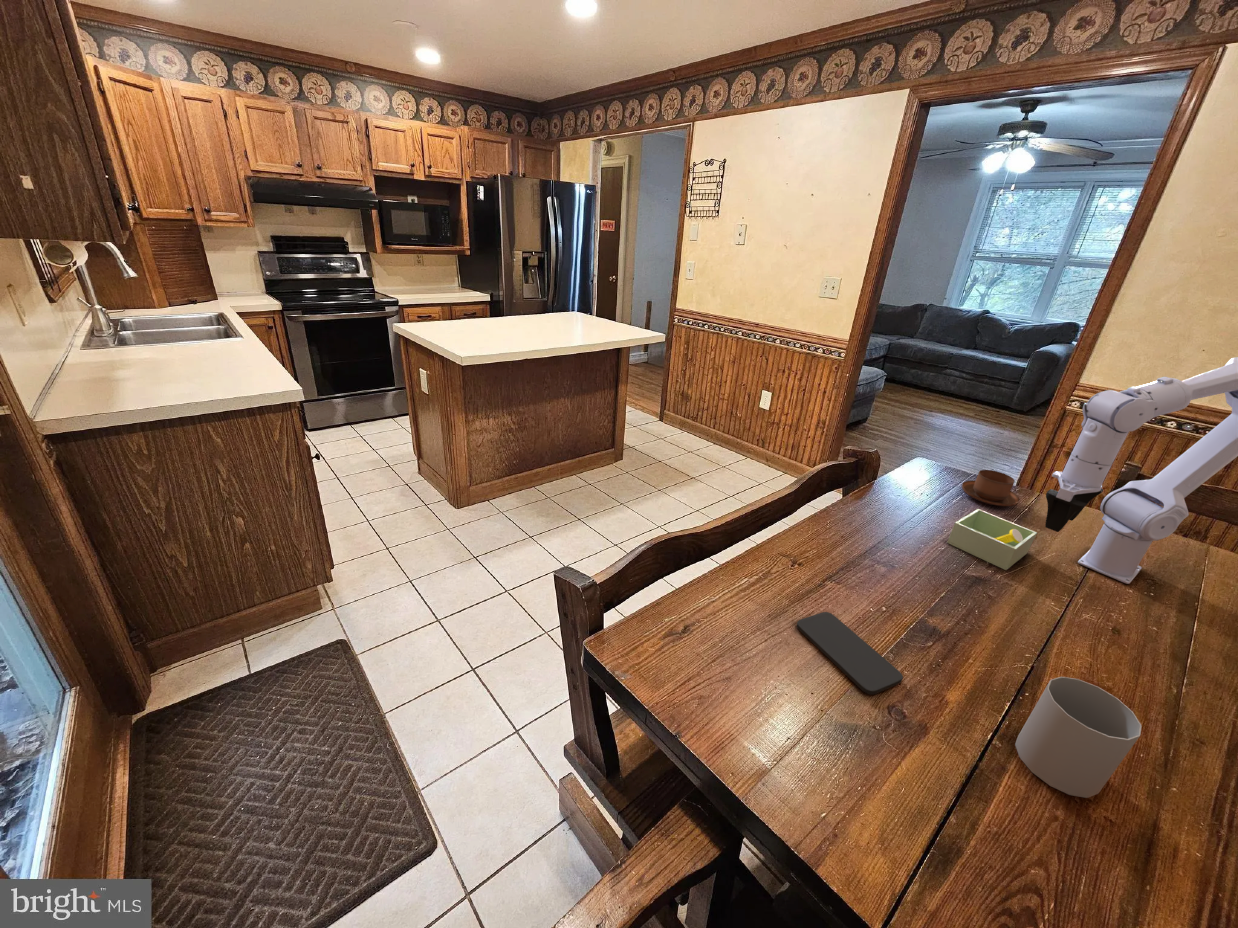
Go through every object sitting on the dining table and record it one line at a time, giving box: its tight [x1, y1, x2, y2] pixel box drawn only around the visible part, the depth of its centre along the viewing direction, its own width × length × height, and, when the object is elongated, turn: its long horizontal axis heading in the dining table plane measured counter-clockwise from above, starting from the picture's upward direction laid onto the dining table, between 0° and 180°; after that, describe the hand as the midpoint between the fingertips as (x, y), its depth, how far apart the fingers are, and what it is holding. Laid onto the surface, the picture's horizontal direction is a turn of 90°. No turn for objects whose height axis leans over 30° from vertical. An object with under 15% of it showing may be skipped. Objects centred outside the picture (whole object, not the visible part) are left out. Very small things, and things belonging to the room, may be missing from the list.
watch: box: [994, 529, 1023, 544], centre depth 103 cm, size 6×3×6 cm
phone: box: [796, 611, 904, 696], centre depth 78 cm, size 7×1×15 cm
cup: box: [1014, 676, 1142, 799], centre depth 61 cm, size 8×8×10 cm
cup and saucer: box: [961, 469, 1021, 507], centre depth 125 cm, size 12×12×6 cm
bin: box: [946, 508, 1038, 571], centre depth 105 cm, size 11×11×5 cm
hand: (1059, 523), depth 97 cm, fingers open, 7 cm apart
